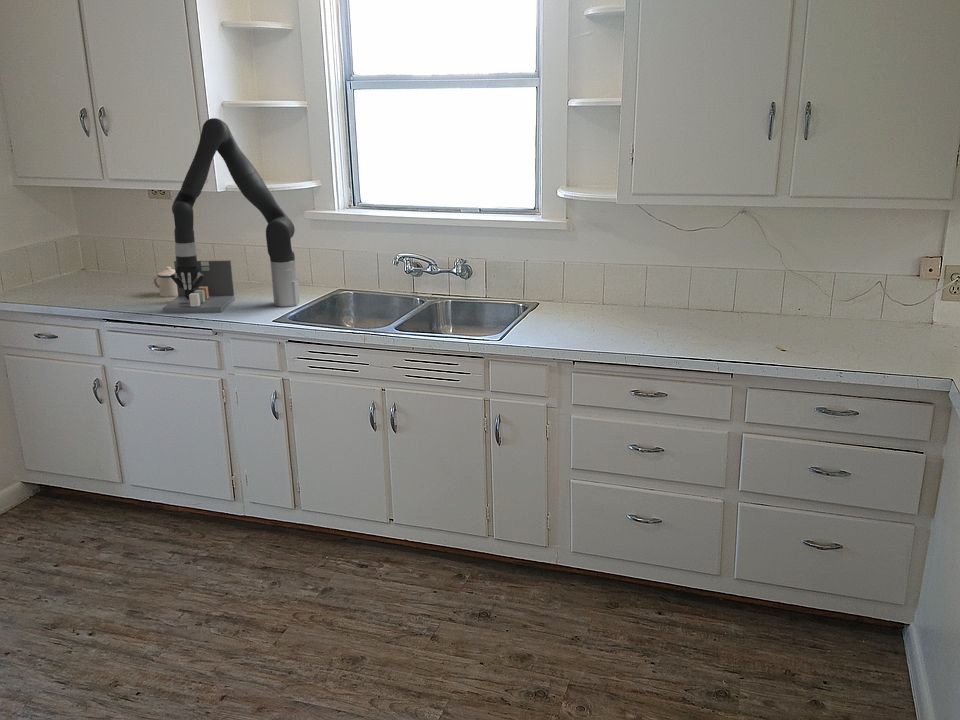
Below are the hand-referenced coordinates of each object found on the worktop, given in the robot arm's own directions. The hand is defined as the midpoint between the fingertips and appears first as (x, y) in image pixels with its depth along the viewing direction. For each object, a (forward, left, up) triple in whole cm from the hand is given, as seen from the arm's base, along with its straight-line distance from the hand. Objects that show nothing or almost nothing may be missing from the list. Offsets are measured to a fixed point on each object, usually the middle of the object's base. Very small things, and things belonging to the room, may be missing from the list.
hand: (189, 298), depth 333 cm
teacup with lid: (+16, -23, -4) cm, 28 cm away
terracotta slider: (-4, -6, -1) cm, 7 cm away
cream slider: (-4, +5, -1) cm, 7 cm away
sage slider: (-4, 0, -1) cm, 4 cm away
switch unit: (-3, -3, -4) cm, 5 cm away
